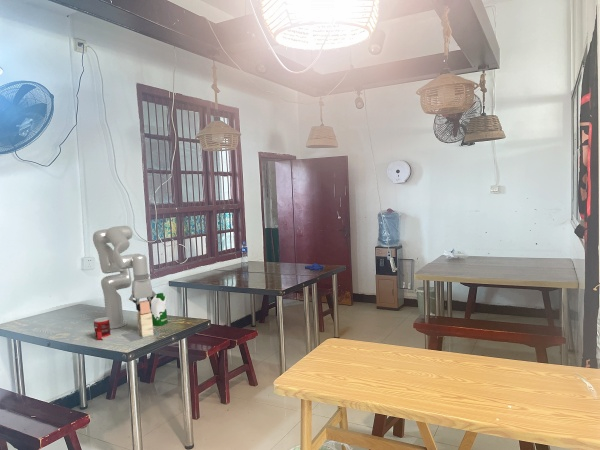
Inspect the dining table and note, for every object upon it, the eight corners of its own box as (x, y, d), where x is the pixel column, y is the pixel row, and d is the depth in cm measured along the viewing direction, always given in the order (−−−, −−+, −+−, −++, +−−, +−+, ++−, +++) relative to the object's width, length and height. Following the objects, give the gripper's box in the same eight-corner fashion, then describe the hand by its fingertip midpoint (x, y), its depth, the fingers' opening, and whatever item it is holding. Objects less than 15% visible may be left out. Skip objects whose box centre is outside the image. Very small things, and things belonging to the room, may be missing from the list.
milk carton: (161, 329, 255) (158, 295, 254) (148, 328, 258) (145, 295, 257) (170, 324, 263) (167, 292, 262) (158, 324, 266) (155, 291, 265)
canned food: (98, 336, 248) (96, 317, 248) (112, 335, 249) (111, 316, 248) (93, 341, 241) (91, 321, 240) (108, 339, 241) (106, 320, 241)
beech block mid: (138, 324, 241) (137, 313, 241) (148, 321, 245) (147, 311, 244) (141, 326, 236) (140, 315, 236) (152, 323, 240) (151, 313, 240)
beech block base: (139, 334, 241) (138, 324, 241) (149, 332, 245) (148, 321, 245) (142, 337, 237) (141, 326, 236) (153, 334, 240) (152, 323, 240)
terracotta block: (138, 312, 241) (137, 302, 240) (147, 310, 244) (146, 300, 243) (141, 314, 237) (140, 303, 236) (150, 312, 240) (149, 301, 239)
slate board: (121, 337, 244) (121, 334, 244) (149, 330, 254) (149, 327, 254) (131, 344, 230) (131, 341, 230) (161, 336, 240) (160, 334, 240)
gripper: (153, 274, 247) (156, 305, 248) (122, 279, 236) (126, 312, 238) (158, 275, 241) (161, 307, 242) (127, 280, 231) (130, 314, 232)
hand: (143, 309), depth 240 cm, fingers closed on terracotta block, 5 cm apart
